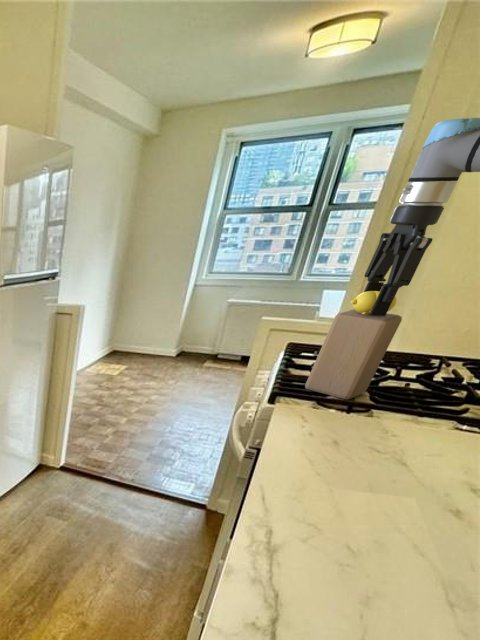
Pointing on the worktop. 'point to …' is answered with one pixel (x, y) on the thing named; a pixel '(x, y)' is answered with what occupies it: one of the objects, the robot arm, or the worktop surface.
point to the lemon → (368, 302)
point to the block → (352, 353)
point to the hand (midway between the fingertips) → (370, 312)
